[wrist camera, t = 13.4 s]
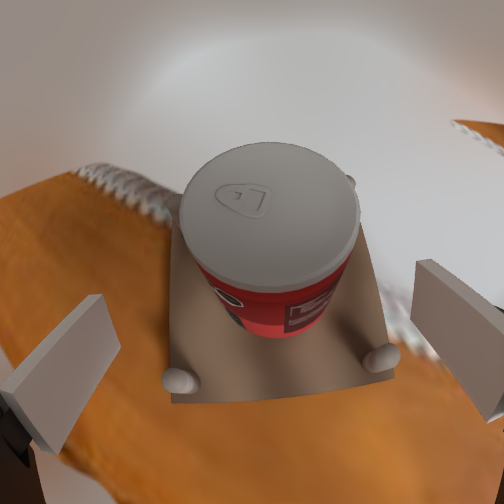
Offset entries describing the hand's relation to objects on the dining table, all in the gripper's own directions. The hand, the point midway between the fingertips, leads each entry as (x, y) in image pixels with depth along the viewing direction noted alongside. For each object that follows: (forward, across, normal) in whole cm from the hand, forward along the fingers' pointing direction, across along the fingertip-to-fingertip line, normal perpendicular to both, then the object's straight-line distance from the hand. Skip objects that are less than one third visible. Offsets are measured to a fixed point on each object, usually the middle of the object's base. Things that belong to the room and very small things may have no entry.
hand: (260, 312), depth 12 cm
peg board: (+12, +1, -5) cm, 13 cm away
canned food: (+10, +1, -4) cm, 11 cm away
